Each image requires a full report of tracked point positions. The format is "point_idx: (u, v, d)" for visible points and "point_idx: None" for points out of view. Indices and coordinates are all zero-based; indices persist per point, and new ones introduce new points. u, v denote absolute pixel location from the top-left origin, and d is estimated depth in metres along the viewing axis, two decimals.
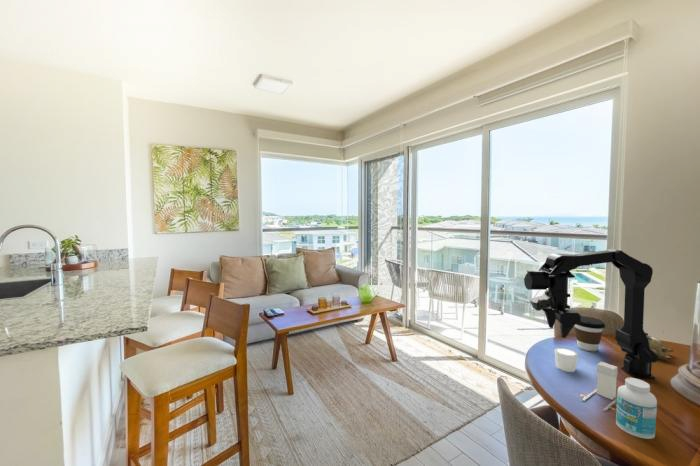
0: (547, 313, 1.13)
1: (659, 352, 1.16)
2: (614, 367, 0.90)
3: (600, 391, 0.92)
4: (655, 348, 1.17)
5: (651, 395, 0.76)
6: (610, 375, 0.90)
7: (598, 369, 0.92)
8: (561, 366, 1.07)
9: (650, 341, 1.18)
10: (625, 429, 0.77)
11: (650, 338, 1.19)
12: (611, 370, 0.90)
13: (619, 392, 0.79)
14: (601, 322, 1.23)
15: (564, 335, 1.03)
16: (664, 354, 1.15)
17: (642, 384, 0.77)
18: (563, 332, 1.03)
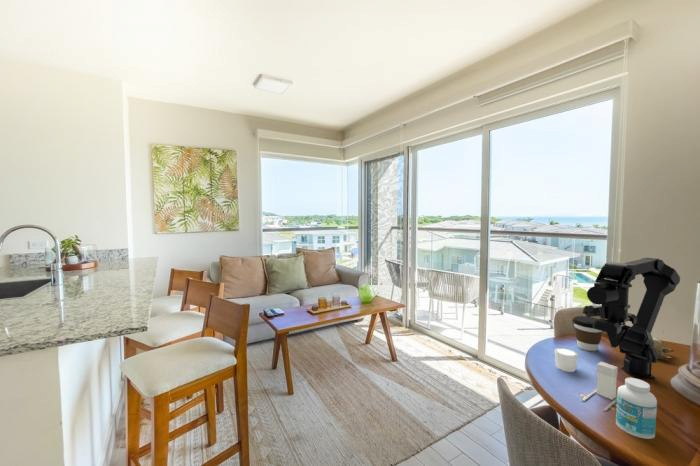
0: None
1: (660, 352, 1.16)
2: (614, 367, 0.90)
3: (600, 391, 0.92)
4: (656, 348, 1.17)
5: (651, 395, 0.76)
6: (610, 375, 0.90)
7: (598, 369, 0.92)
8: (561, 366, 1.07)
9: None
10: (625, 429, 0.77)
11: None
12: (611, 370, 0.90)
13: (619, 392, 0.79)
14: None
15: (613, 344, 1.00)
16: (665, 354, 1.15)
17: (642, 384, 0.77)
18: (611, 341, 1.00)
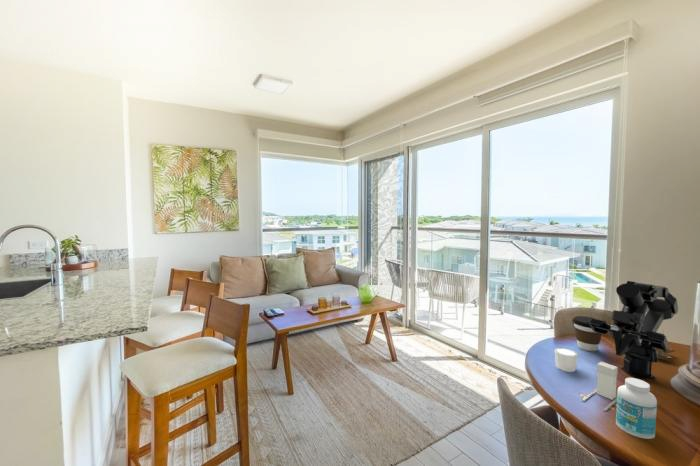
0: (620, 339, 0.98)
1: (660, 352, 1.16)
2: (614, 367, 0.90)
3: (600, 391, 0.92)
4: (656, 348, 1.17)
5: (651, 395, 0.76)
6: (610, 375, 0.90)
7: (598, 369, 0.92)
8: (561, 366, 1.07)
9: None
10: (625, 429, 0.77)
11: None
12: (611, 370, 0.90)
13: (619, 392, 0.79)
14: None
15: (621, 353, 0.96)
16: (665, 354, 1.15)
17: (642, 384, 0.77)
18: (623, 350, 0.96)
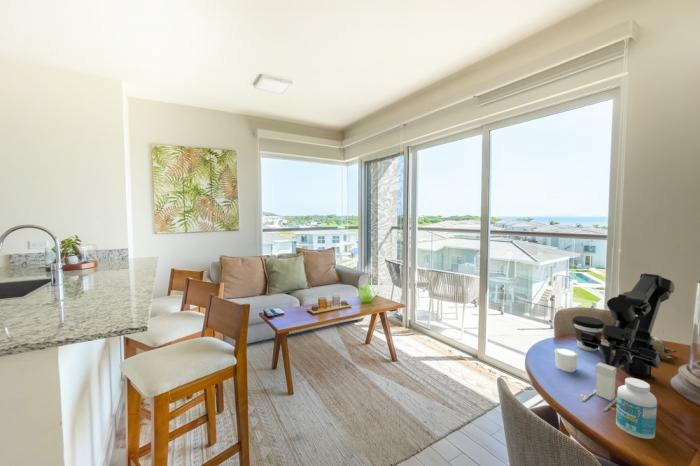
0: (610, 354, 0.94)
1: (661, 352, 1.16)
2: (613, 368, 0.90)
3: (599, 392, 0.92)
4: (656, 348, 1.17)
5: (651, 395, 0.76)
6: (609, 376, 0.90)
7: (597, 370, 0.92)
8: (561, 366, 1.07)
9: None
10: (625, 429, 0.77)
11: (652, 338, 1.19)
12: (610, 371, 0.89)
13: (619, 392, 0.79)
14: (601, 322, 1.23)
15: None
16: (666, 354, 1.15)
17: (642, 384, 0.77)
18: (614, 366, 0.92)
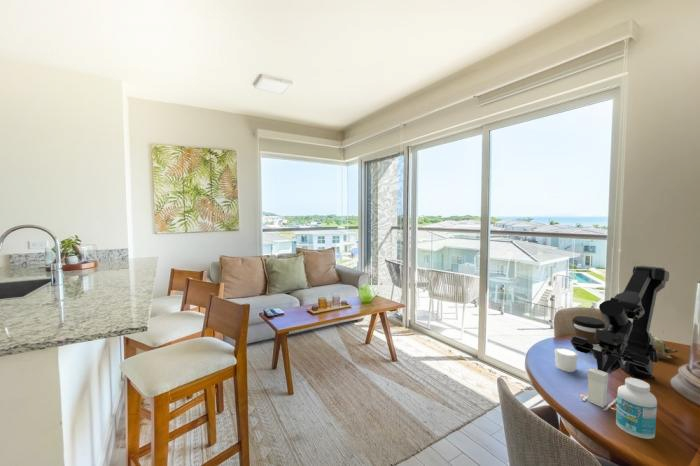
0: (602, 360, 0.91)
1: (661, 352, 1.16)
2: (605, 373, 0.87)
3: (591, 398, 0.89)
4: (657, 348, 1.17)
5: (651, 395, 0.76)
6: (601, 382, 0.87)
7: (588, 375, 0.89)
8: (561, 366, 1.07)
9: None
10: (625, 429, 0.77)
11: (653, 338, 1.19)
12: (601, 376, 0.86)
13: (619, 392, 0.79)
14: (601, 322, 1.23)
15: None
16: (666, 354, 1.15)
17: (642, 384, 0.77)
18: (606, 372, 0.89)
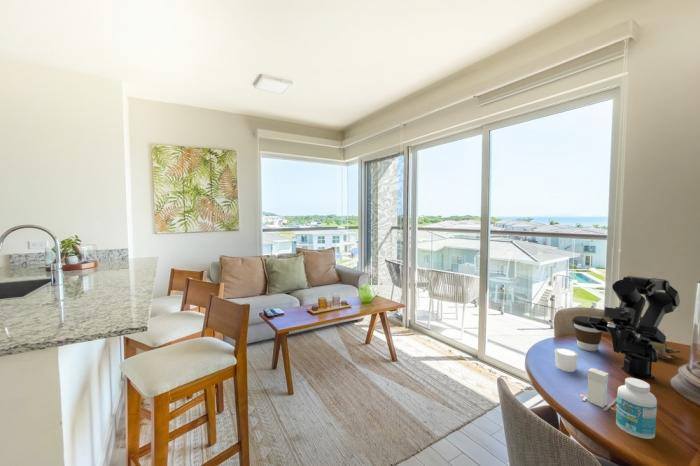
0: (617, 335, 0.98)
1: (662, 352, 1.16)
2: (605, 373, 0.87)
3: (590, 398, 0.89)
4: (657, 348, 1.17)
5: (651, 395, 0.76)
6: (601, 382, 0.86)
7: (588, 375, 0.89)
8: (561, 366, 1.07)
9: None
10: (625, 429, 0.77)
11: None
12: (601, 376, 0.86)
13: (619, 392, 0.79)
14: None
15: (619, 350, 0.96)
16: (666, 354, 1.15)
17: (642, 384, 0.77)
18: (620, 346, 0.96)
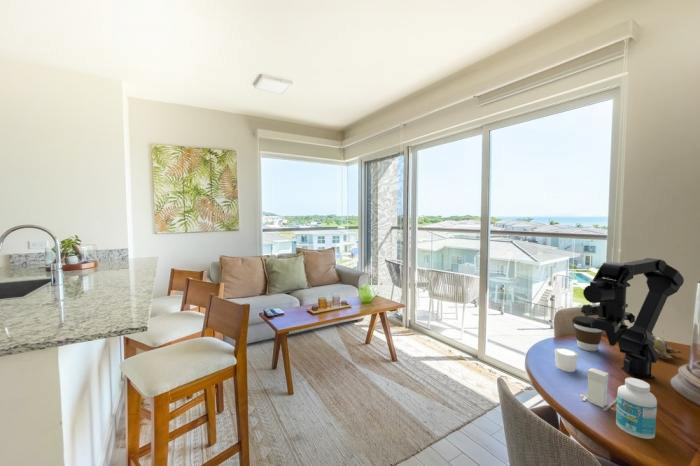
0: None
1: (662, 352, 1.16)
2: (605, 373, 0.87)
3: (590, 398, 0.89)
4: (657, 348, 1.17)
5: (651, 395, 0.76)
6: (601, 382, 0.86)
7: (588, 375, 0.89)
8: (561, 366, 1.07)
9: None
10: (625, 429, 0.77)
11: (654, 338, 1.19)
12: (601, 376, 0.86)
13: (619, 392, 0.79)
14: None
15: (611, 343, 1.01)
16: (667, 354, 1.15)
17: (642, 384, 0.77)
18: (609, 339, 1.02)
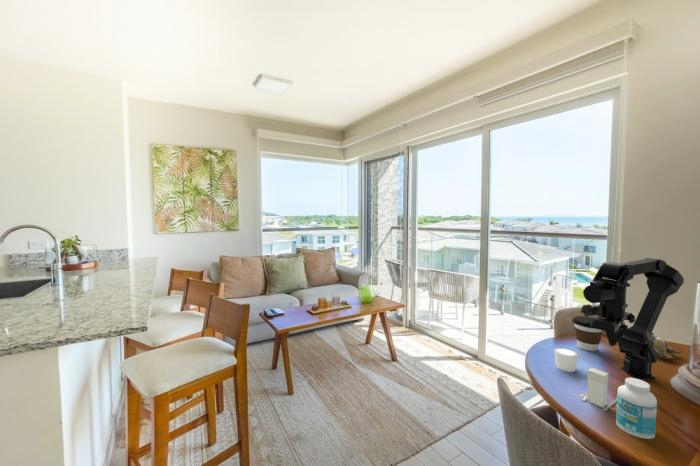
0: None
1: (662, 352, 1.16)
2: (605, 373, 0.87)
3: (590, 398, 0.89)
4: (658, 348, 1.17)
5: (651, 395, 0.76)
6: (601, 382, 0.86)
7: (588, 375, 0.89)
8: (561, 366, 1.07)
9: (654, 341, 1.19)
10: (625, 429, 0.77)
11: (654, 338, 1.19)
12: (601, 376, 0.86)
13: (619, 392, 0.79)
14: None
15: (611, 343, 1.01)
16: (667, 354, 1.15)
17: (642, 384, 0.77)
18: (609, 339, 1.02)
